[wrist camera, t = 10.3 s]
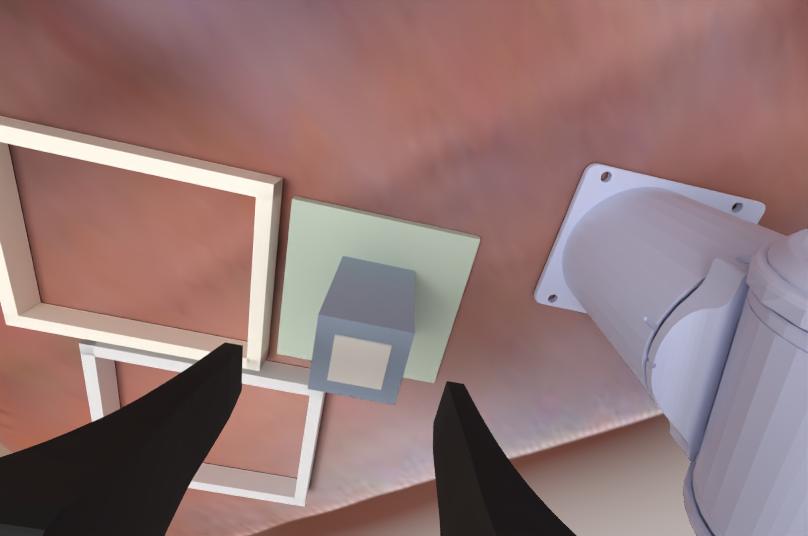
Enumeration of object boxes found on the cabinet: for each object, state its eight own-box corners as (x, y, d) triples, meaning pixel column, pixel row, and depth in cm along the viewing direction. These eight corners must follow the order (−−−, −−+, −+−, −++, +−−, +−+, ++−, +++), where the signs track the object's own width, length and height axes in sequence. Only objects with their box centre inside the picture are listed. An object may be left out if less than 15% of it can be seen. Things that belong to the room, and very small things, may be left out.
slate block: (414, 270, 21) (415, 334, 16) (399, 329, 23) (394, 406, 18) (342, 255, 21) (317, 315, 16) (332, 316, 23) (306, 390, 17)
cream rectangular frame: (283, 177, 20) (273, 184, 19) (267, 355, 25) (259, 371, 24) (-16, 112, 19) (-49, 114, 18) (29, 311, 24) (6, 324, 22)
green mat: (478, 235, 21) (480, 239, 21) (433, 377, 25) (434, 383, 25) (295, 195, 20) (292, 198, 20) (279, 347, 25) (276, 353, 24)
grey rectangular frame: (329, 372, 25) (324, 388, 24) (309, 487, 30) (304, 506, 29) (97, 328, 24) (78, 343, 23) (115, 455, 29) (100, 473, 28)
